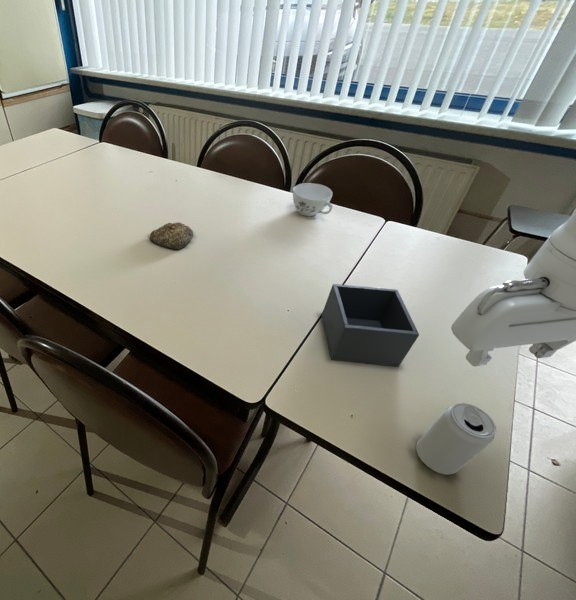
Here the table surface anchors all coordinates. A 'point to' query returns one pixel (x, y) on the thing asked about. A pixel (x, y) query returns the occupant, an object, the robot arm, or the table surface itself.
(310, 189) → the teacup
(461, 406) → the beverage can
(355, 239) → the table surface
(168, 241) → the speckled grey pebble
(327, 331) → the waste bin
